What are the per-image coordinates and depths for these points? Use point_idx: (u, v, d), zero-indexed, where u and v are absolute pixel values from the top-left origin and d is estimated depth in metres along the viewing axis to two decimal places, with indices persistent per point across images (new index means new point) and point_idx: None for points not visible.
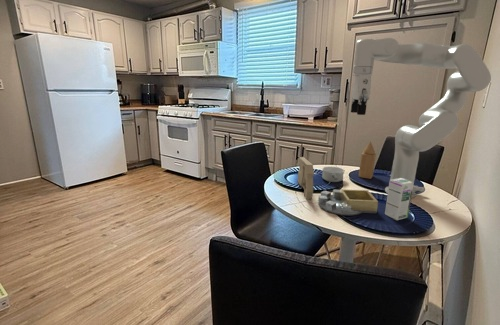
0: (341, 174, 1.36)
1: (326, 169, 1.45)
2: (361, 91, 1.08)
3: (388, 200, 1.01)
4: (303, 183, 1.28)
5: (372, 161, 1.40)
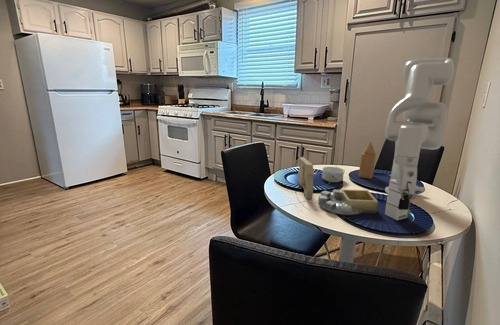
0: (341, 174, 1.36)
1: (326, 169, 1.45)
2: (405, 184, 0.93)
3: (388, 200, 1.01)
4: (303, 183, 1.28)
5: (372, 161, 1.40)
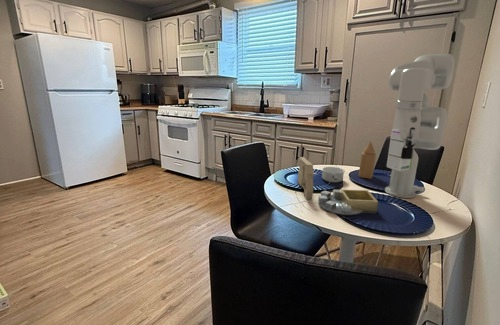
0: (341, 174, 1.36)
1: (326, 169, 1.45)
2: (409, 131, 0.89)
3: (390, 152, 0.97)
4: (303, 183, 1.28)
5: (372, 161, 1.40)
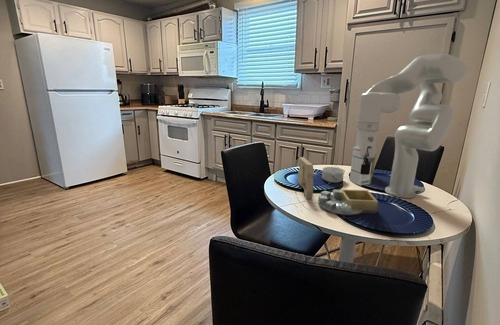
0: (341, 174, 1.36)
1: (326, 169, 1.45)
2: (366, 149, 0.98)
3: (352, 167, 1.06)
4: (303, 183, 1.28)
5: None
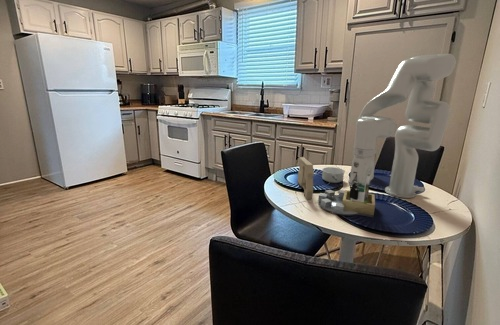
0: (341, 175, 1.35)
1: (326, 170, 1.44)
2: (352, 174, 0.99)
3: None
4: (303, 183, 1.28)
5: None
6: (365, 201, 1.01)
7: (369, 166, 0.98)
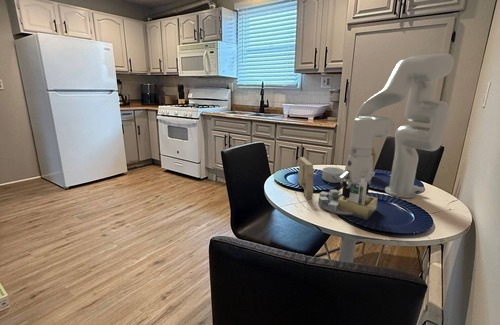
0: None
1: (326, 170, 1.44)
2: None
3: None
4: (303, 183, 1.28)
5: None
6: (359, 203, 1.00)
7: (364, 166, 0.97)
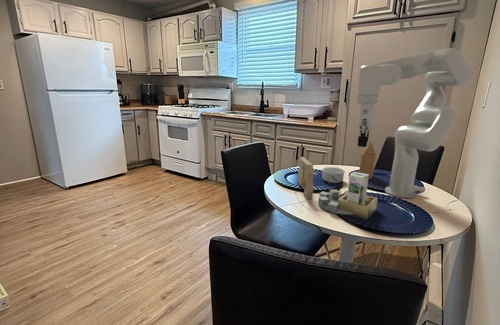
0: (341, 175, 1.35)
1: (326, 170, 1.44)
2: (361, 122, 0.99)
3: None
4: (303, 183, 1.28)
5: (372, 161, 1.40)
6: (359, 203, 1.00)
7: None
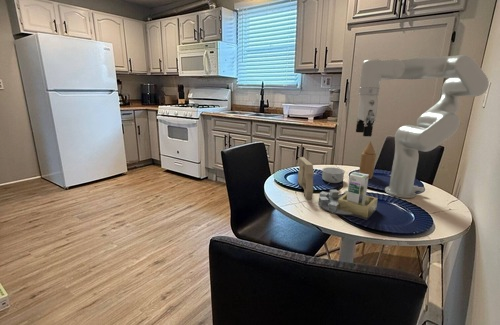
0: (341, 175, 1.35)
1: (326, 170, 1.44)
2: (367, 112, 1.05)
3: None
4: (303, 183, 1.28)
5: (372, 161, 1.40)
6: (359, 203, 1.00)
7: None
